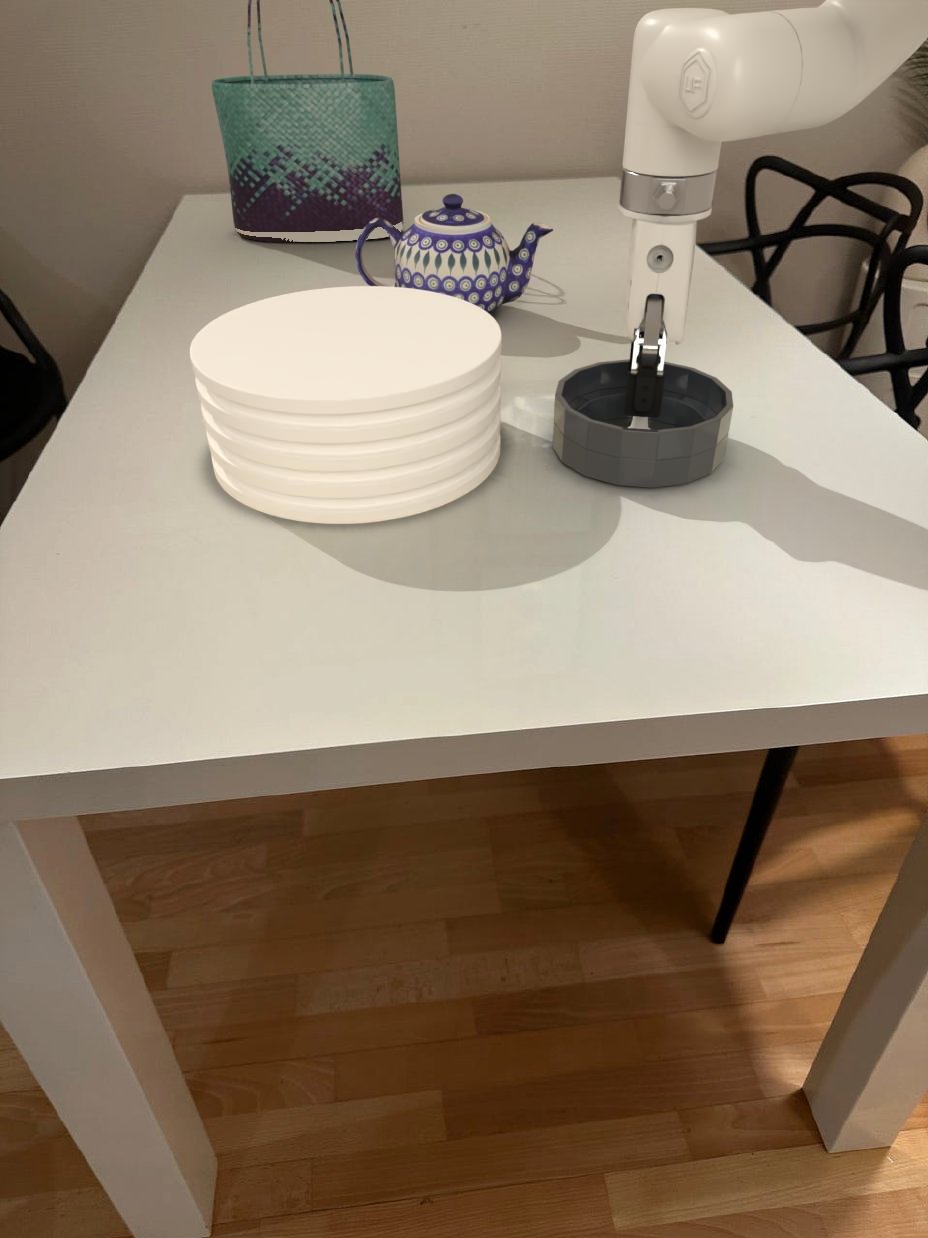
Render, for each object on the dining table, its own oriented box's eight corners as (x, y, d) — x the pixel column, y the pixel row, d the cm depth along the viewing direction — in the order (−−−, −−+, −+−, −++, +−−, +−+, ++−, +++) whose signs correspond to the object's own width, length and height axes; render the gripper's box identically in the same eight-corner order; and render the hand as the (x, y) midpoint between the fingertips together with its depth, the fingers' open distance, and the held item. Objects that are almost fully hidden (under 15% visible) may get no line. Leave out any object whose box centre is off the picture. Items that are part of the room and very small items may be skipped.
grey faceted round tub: (719, 420, 92) (728, 364, 88) (725, 499, 80) (737, 438, 76) (562, 410, 95) (565, 355, 91) (544, 485, 82) (547, 424, 78)
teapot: (350, 333, 113) (338, 208, 104) (371, 294, 125) (362, 179, 116) (548, 337, 111) (554, 210, 102) (550, 297, 123) (555, 180, 114)
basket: (407, 223, 154) (392, -69, 130) (401, 243, 145) (383, -69, 120) (244, 225, 155) (199, -66, 131) (227, 244, 146) (175, -65, 121)
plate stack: (188, 420, 94) (164, 311, 87) (434, 373, 103) (430, 271, 96) (252, 554, 74) (228, 426, 67) (551, 481, 82) (557, 361, 75)
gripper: (717, 221, 65) (684, 443, 76) (710, 170, 79) (683, 365, 90) (614, 218, 67) (596, 437, 78) (625, 167, 80) (608, 360, 91)
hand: (643, 396), depth 84 cm, fingers open, 6 cm apart
